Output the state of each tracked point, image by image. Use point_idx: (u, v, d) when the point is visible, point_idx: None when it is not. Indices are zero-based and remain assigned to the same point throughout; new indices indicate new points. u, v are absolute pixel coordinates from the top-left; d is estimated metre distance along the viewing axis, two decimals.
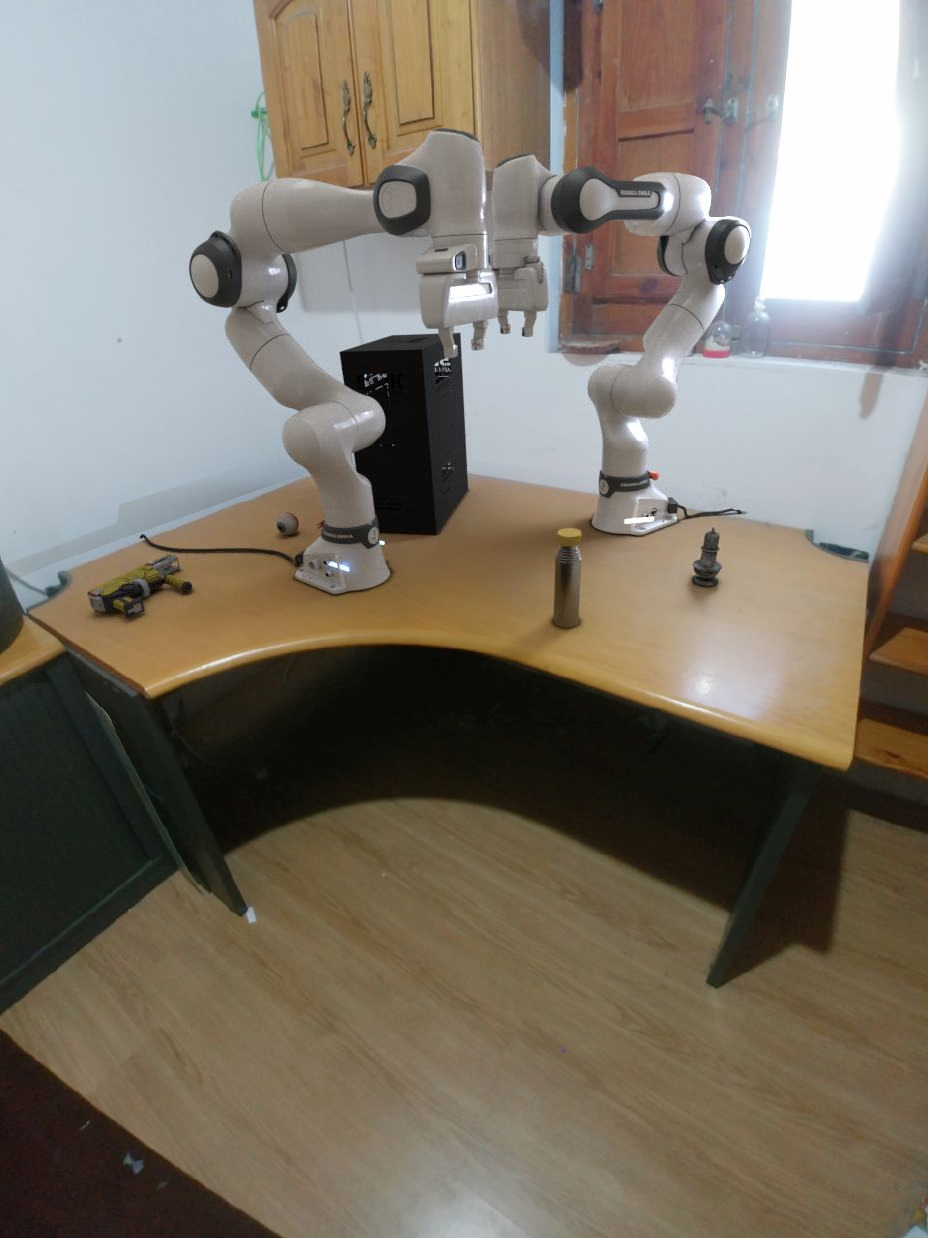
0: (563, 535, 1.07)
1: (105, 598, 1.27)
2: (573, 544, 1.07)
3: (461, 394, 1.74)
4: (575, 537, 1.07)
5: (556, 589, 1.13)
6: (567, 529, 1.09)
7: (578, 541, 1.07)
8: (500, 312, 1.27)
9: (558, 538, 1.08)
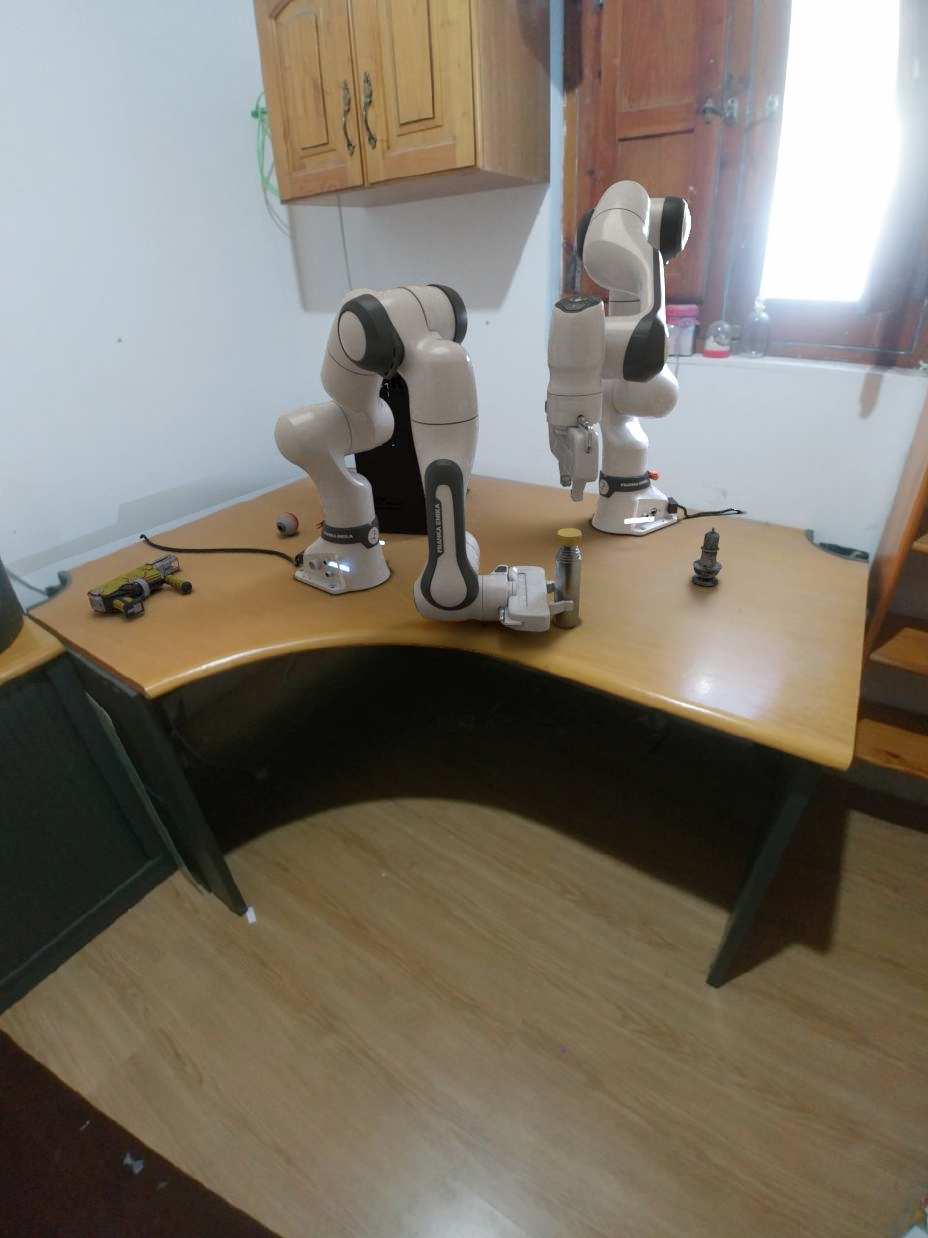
0: (563, 535, 1.07)
1: (105, 598, 1.27)
2: (573, 544, 1.07)
3: None
4: (575, 537, 1.07)
5: (556, 589, 1.13)
6: (567, 529, 1.09)
7: (578, 541, 1.07)
8: None
9: (558, 538, 1.08)
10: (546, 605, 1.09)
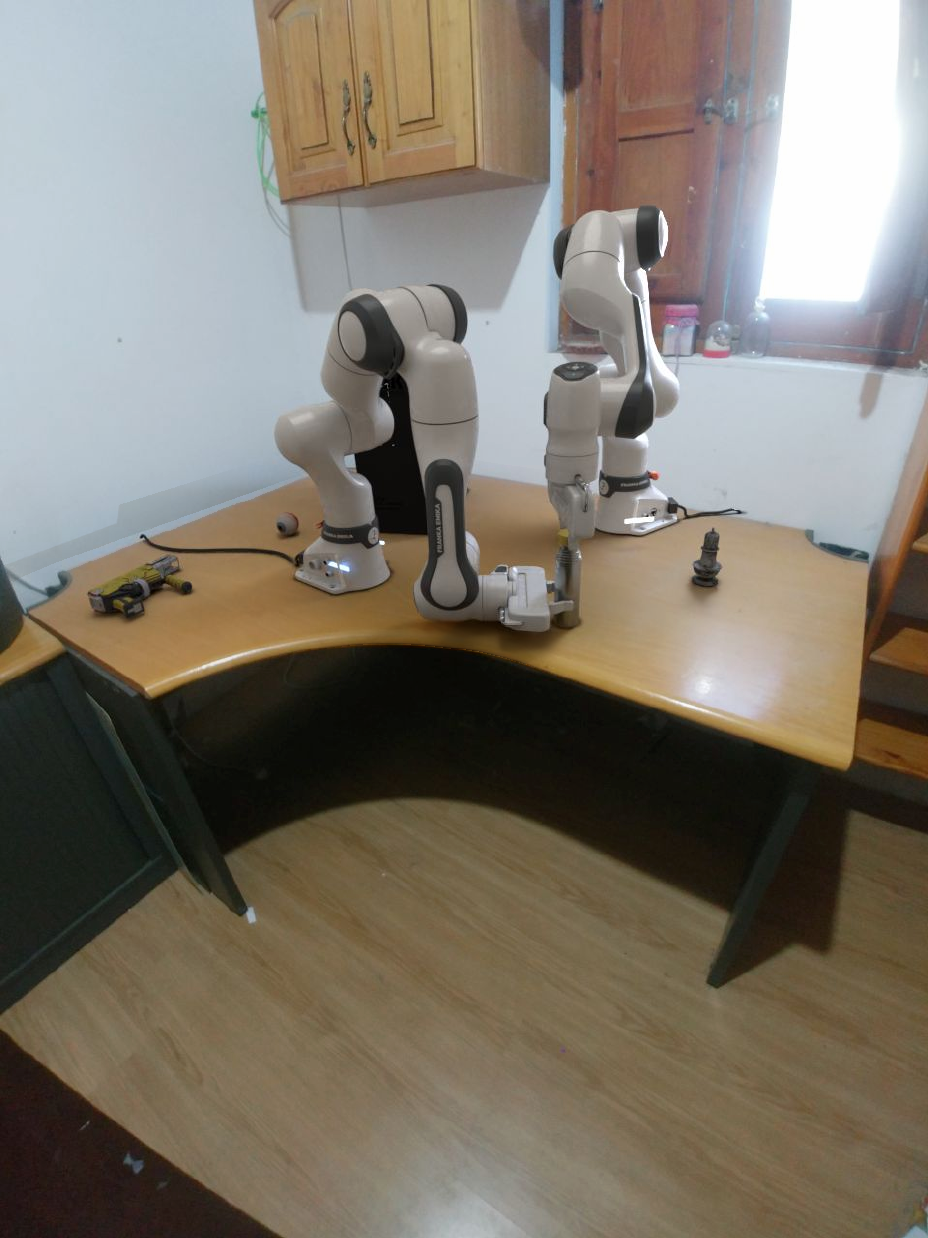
0: (563, 535, 1.07)
1: (105, 598, 1.27)
2: None
3: None
4: None
5: (556, 589, 1.13)
6: None
7: None
8: None
9: (558, 538, 1.08)
10: (546, 605, 1.09)
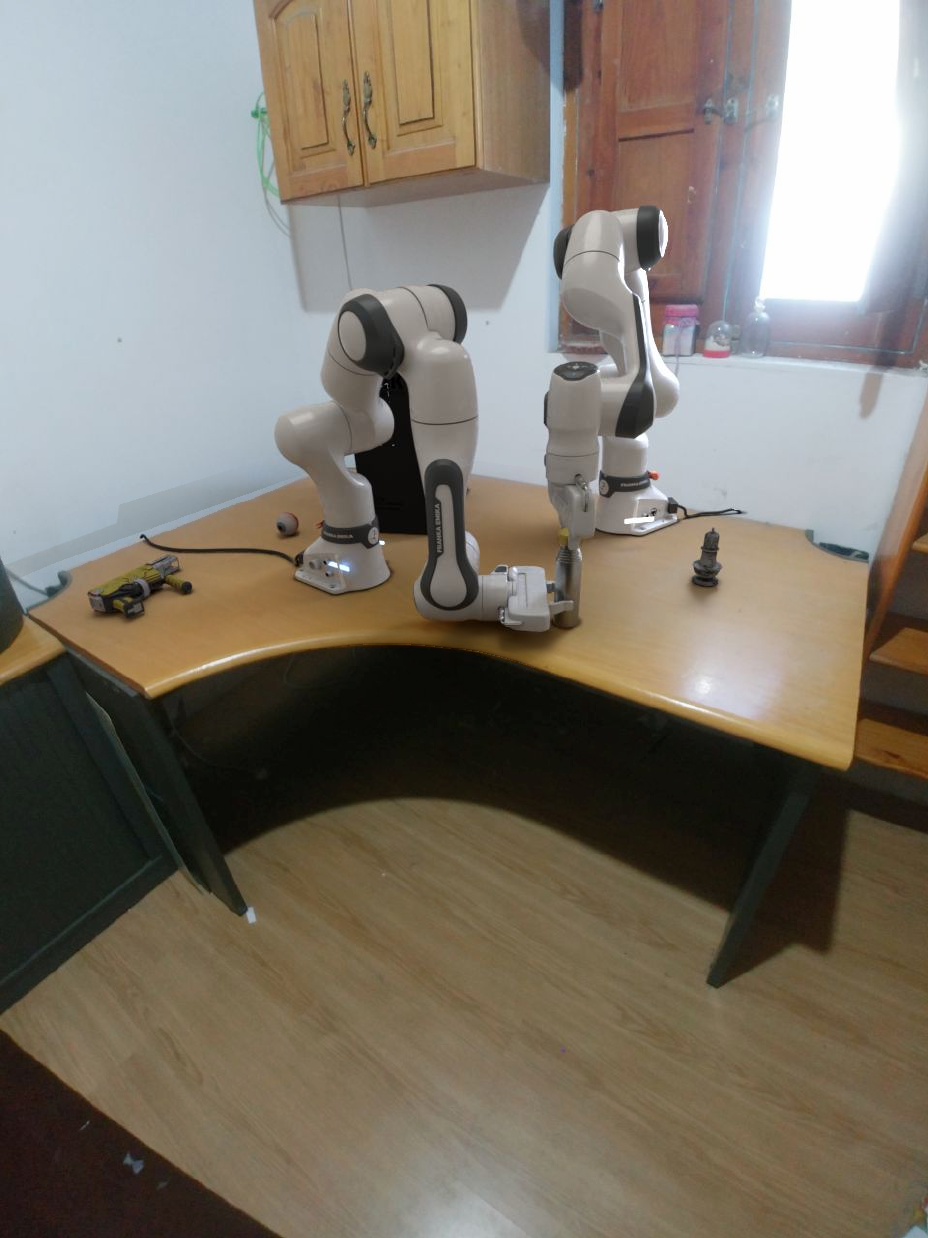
0: None
1: (105, 598, 1.27)
2: None
3: None
4: None
5: (556, 589, 1.13)
6: (562, 531, 1.08)
7: None
8: None
9: None
10: (546, 605, 1.08)
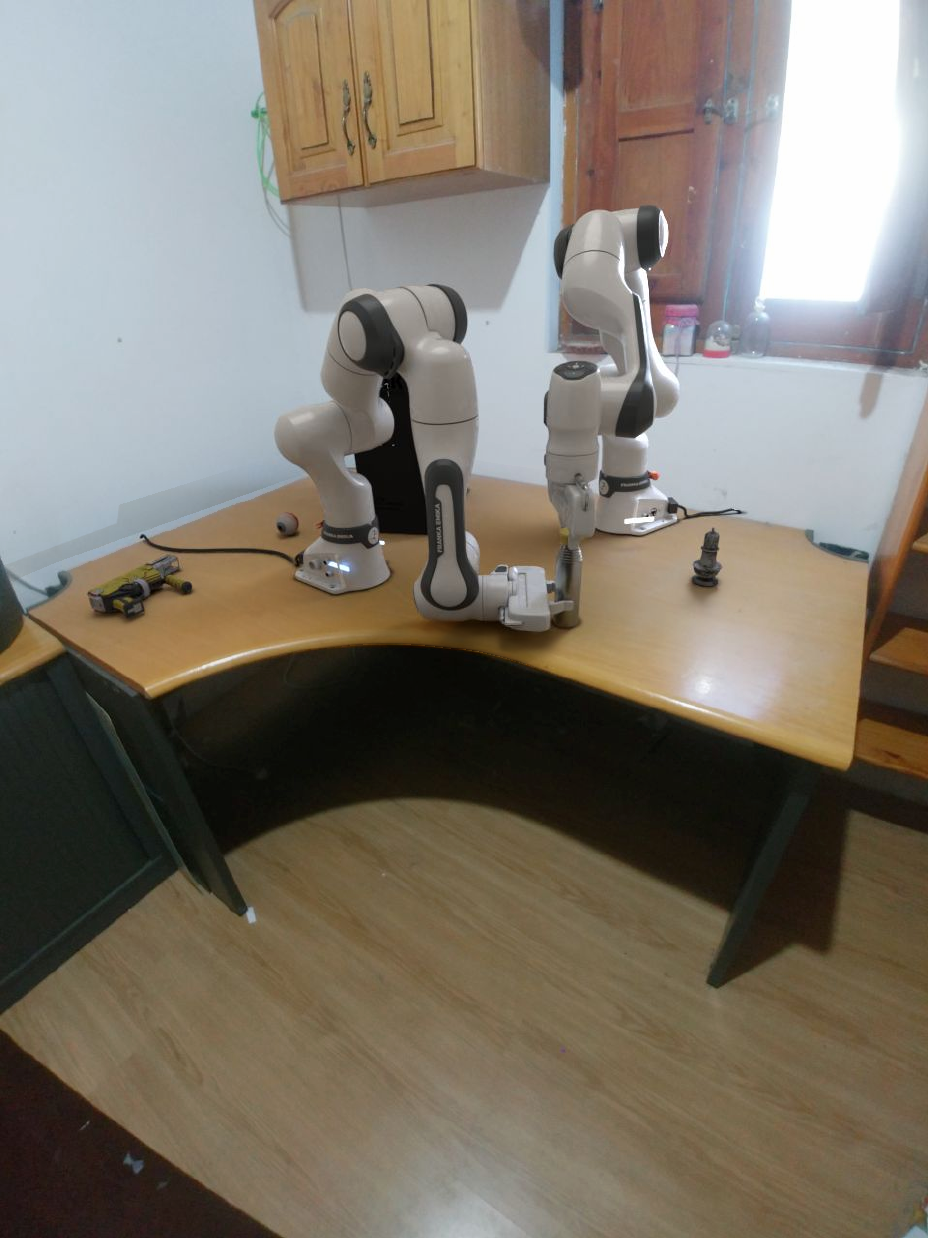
0: None
1: (105, 598, 1.27)
2: None
3: None
4: None
5: (556, 589, 1.13)
6: None
7: None
8: None
9: None
10: (546, 605, 1.09)
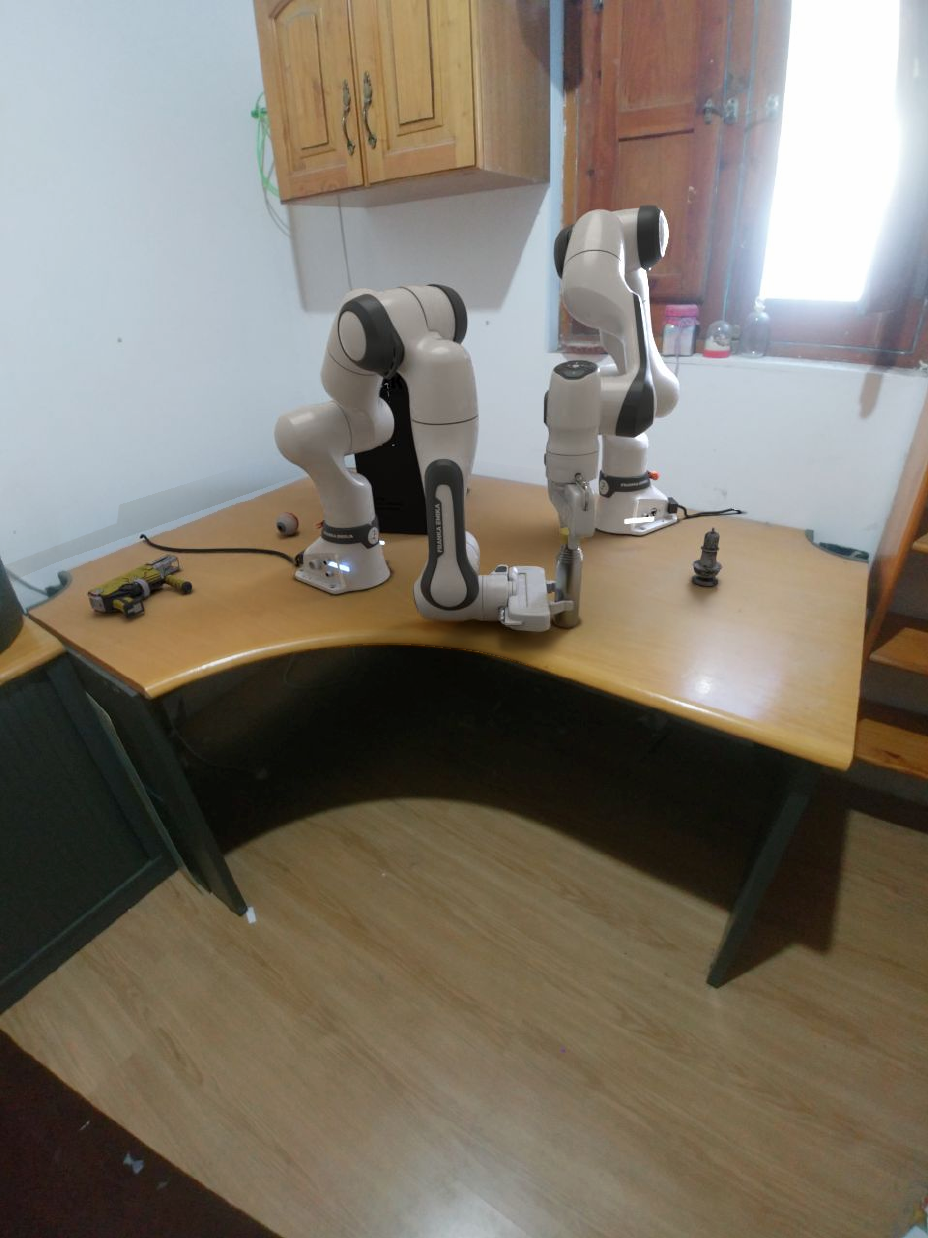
0: (566, 527, 1.09)
1: (105, 598, 1.27)
2: None
3: None
4: (559, 531, 1.08)
5: (557, 588, 1.13)
6: None
7: (560, 538, 1.08)
8: None
9: None
10: (546, 605, 1.09)
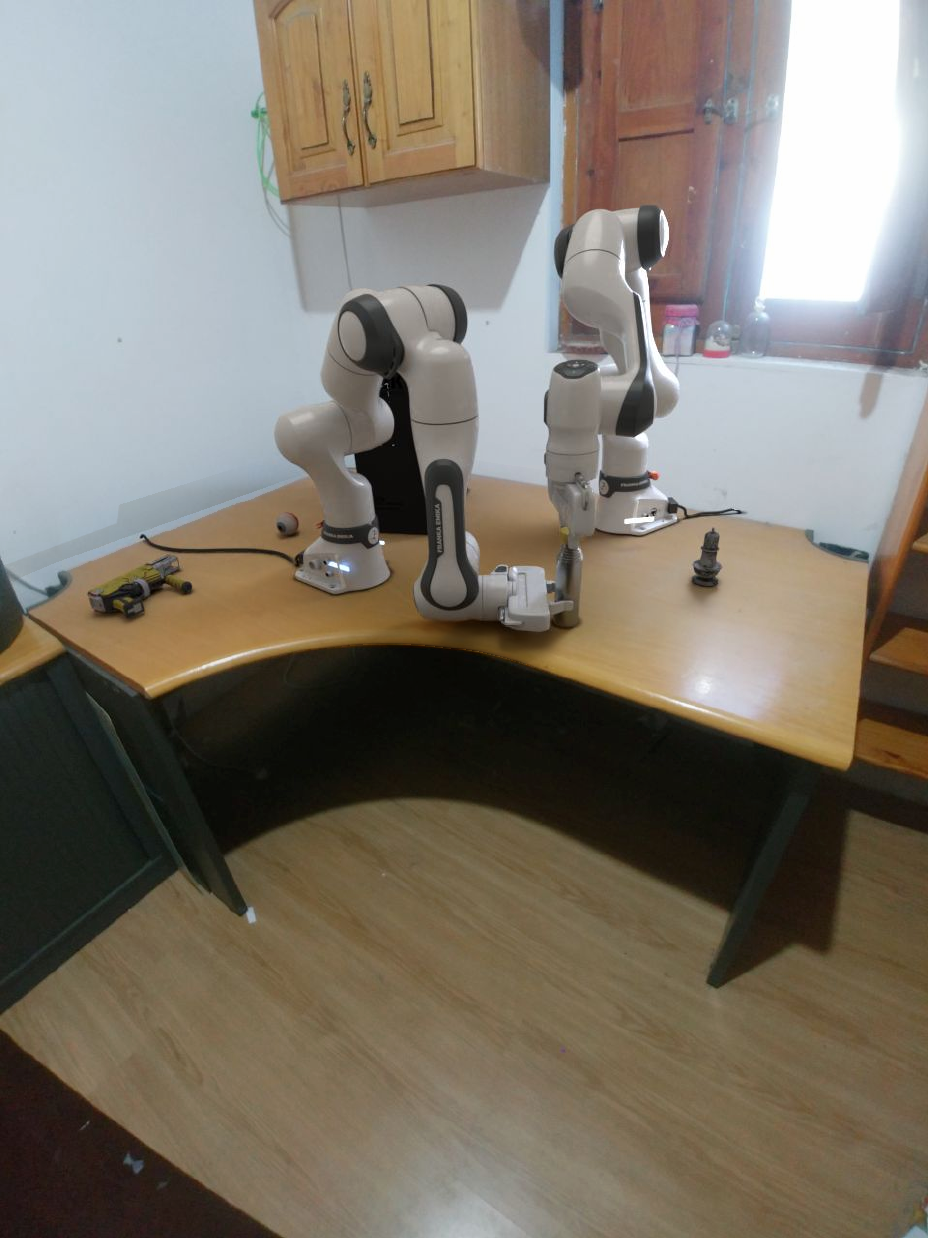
0: (562, 531, 1.08)
1: (105, 598, 1.27)
2: None
3: None
4: None
5: (557, 588, 1.13)
6: None
7: None
8: None
9: (559, 533, 1.09)
10: (546, 605, 1.09)
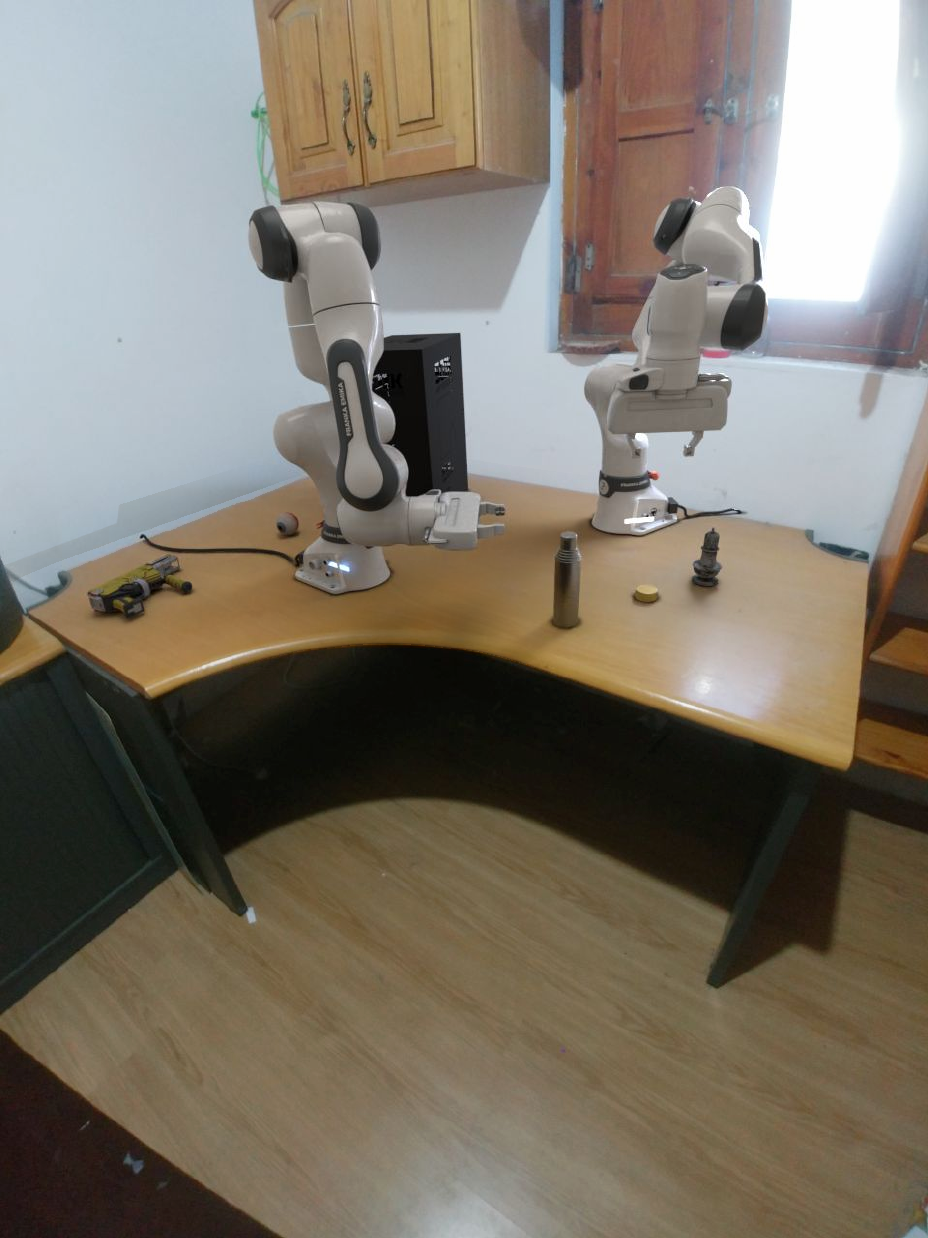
0: (655, 589, 1.23)
1: (105, 598, 1.27)
2: None
3: (461, 394, 1.74)
4: None
5: (555, 589, 1.13)
6: (643, 591, 1.22)
7: None
8: None
9: (657, 594, 1.23)
10: (474, 523, 1.02)
